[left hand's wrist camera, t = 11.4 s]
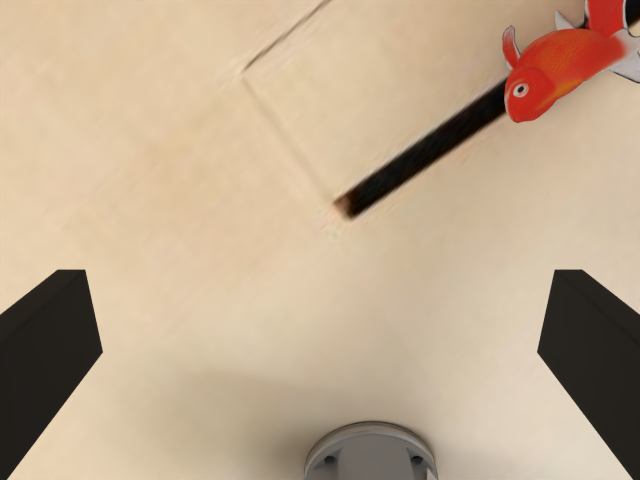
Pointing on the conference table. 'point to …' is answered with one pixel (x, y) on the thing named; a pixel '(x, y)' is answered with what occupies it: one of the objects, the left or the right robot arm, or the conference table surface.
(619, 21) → the fish
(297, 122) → the conference table surface
